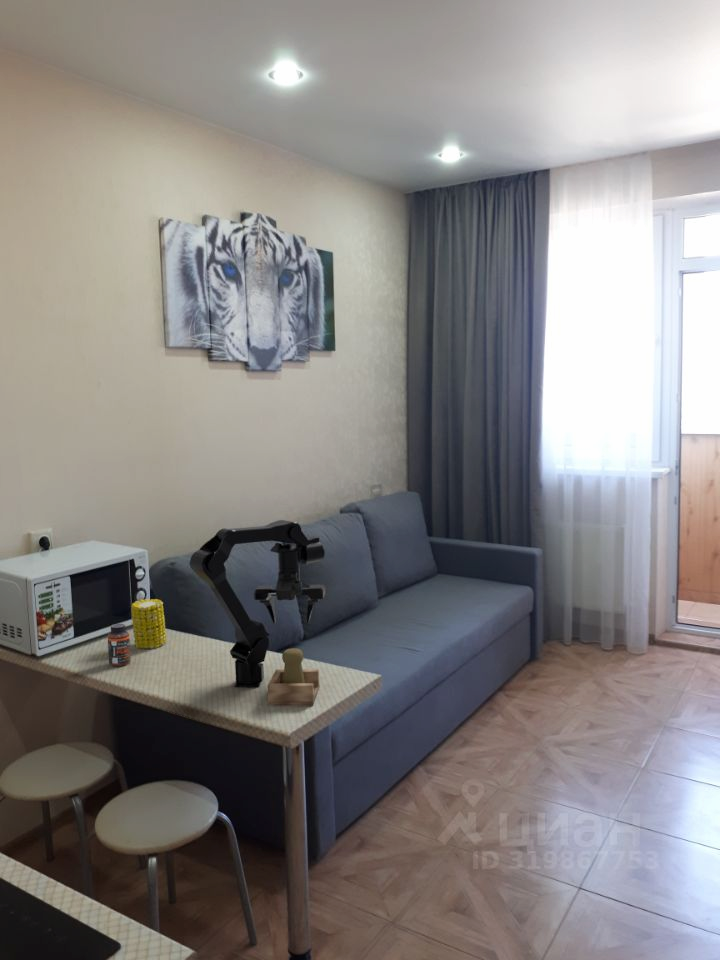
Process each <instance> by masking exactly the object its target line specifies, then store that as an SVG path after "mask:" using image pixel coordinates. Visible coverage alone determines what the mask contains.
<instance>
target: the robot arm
mask: <svg viewBox="0 0 720 960" xmlns="http://www.w3.org/2000/svg"><path fill="white" fill-rule="evenodd" d="M270 541H271V542H276V543H275V544H274V546H272V547H271V549H269V550H270V553H271V552H272V553H276V554H277V565H278V568H277V569H278V572H277V573H278V574H277V575H278V576H277V581H276V586H275V588H273V586H272V584H267V585H266V584H262V585H261V584H260V585H258V586H257V588H255V590H254V593H253V599H254V600H256V601H259V603H260V604H263V605H264V606H265V607H266V610H267V611H268V613H269V616H270V618H271V621H272V623H273V624H276V621H277V620H276V618H277V615H276V608H275V607H276V606H275V596H276V600H277V601H293V600H295V598H296V596H307V597H308V599H307V601H306V602H307V609H306V611H307V612H306V623H307V624H309V623H310V620H311V616H312V612H313V609H314V606H315V604H316V603H318V602H319V601H320V600H323V599H324V597H325V596H326V585H324V584H310V585H309V587H308V588H307V587H303V581H302V580H301V572H300V571H301V567H300V564H302V565H305V564H311V563H315V562H321V561H323V559H324V558H325V551H326V550H325V548H324V546H323V544H322V543H321V541H320V537H319V536H312V537H309V538H307V536H306V535H305V534H304V533H303V531H302V527H301V525H300V524H299V522H298V521H292V520H286V519H280V520H276V521H273V522H269V523H268V524H267V525H266V524H265V525H259V526H248V527H237V528H221V529H219V530H218V531H217V532H216V533H215V535H214V536H213V537H212V538H210V539H209V540H207V541H206V542H204V543H203V545H202V546H201V547H200V548H199V549H198V550H196V551H195V552H193V553H192V555H191V556H190V560H189V566H190V569H191V570H192V571H193V572H194V574H196V575H197V576H198V577H199V578H200V579H201V580H202V581H203V582H204V583H205V584H207V585H208V586H209V588H210V589H211V591H212V592H213V594H214V595H215V598H216V599H217V601H218V602H219V604H220V606H221V607H222V609H223V611H224V612H225V614H226V615H227V617H228V619H229V620H230V622H231V624H232V625H233V627H234V636H235V639H236V641H235V643H234V645H233V646H232V647H231V649H230V651H229V653H230V656H231V659H235V661H234V665H235V666H234V667H235V669H234V670H235V683H234V688H235V687H236V688H241V687H242V688H243V687H246V688H247V687H253V688H257V687H260V685H261V683H262V682H263V681H264V679H265V674H264V672H265V671H264V669H265V667H264V663H263V662H265V659H266V655H267V651H268V648H269V646H270V643H271V640H270V638H269V636H270V634H269V633H268V632H267V630H266V628H265V626H264V624H263V623H262V622H260V621H257V620H255V619H251V618H250V615H249V614H248V612H247V611H246V609H245V608H244V606H243V604H242V602H241V601H240V599H239V597H238V596H237V594H236V592H235V591H234V588H233V586H231V584H230V583H229V581H228V579H227V568H226V566H225V563H226V562H227V560H228V559H229V557H230V555H231V552H232V549H233V548H234V546H235V545H240V544H250V543H251V544H252V543H260V542H270ZM279 542H280V543H279ZM282 543H285V544H282ZM293 544H294V545H293Z"/></svg>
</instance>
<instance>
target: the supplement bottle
mask: <svg viewBox="0 0 720 960" xmlns="http://www.w3.org/2000/svg"><path fill="white" fill-rule="evenodd" d="M126 629H127V628H126V624H125V623H115V624H114V623H113V624H112V625H110V632H109V633H108V635H107V650H108V663H109V666H111V667H123V666H127V665H129V664H130V663H131V659H132V658H131V655H132V654H131V642H130V641H131V640H130V632H129V631H127V630H126Z"/></svg>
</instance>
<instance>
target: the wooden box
mask: <svg viewBox="0 0 720 960" xmlns="http://www.w3.org/2000/svg"><path fill="white" fill-rule="evenodd" d="M302 670H303V675H304V681H305V683H283V678H284V669H275V671H274V673H273V674H272V675H271V678H270V680H269V682H268V684H267V706H268V707H269V706H270V707H276V706H277V707H279V706H281V707H284V706H285V707H288V706H289V707H291V706H292V707H293V706H294V707H296V706H297V707H298V706H300V707H302V706H303V707H305V706H308V707H311V706H312V707H313V706H314V705H315V701H316V698H317V696H318V694H319V693H318V692H319V690H320V686H321V685H320V672H319V671H320V670H319V669H302ZM271 705H272V706H271Z"/></svg>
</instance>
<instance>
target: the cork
mask: <svg viewBox="0 0 720 960" xmlns="http://www.w3.org/2000/svg"><path fill="white" fill-rule="evenodd" d="M281 657H282V662H283V663H284V665H283V666H284V667H283V668H284V669H283V670H284V678H283V683H305V681H304V675H303V670H304V669H303V666H302V662H303V660H304V653H303V651H302V650H301V649H300V648H293V647H292V648H288V649H285V650H284V651H283V652H282V656H281Z"/></svg>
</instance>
